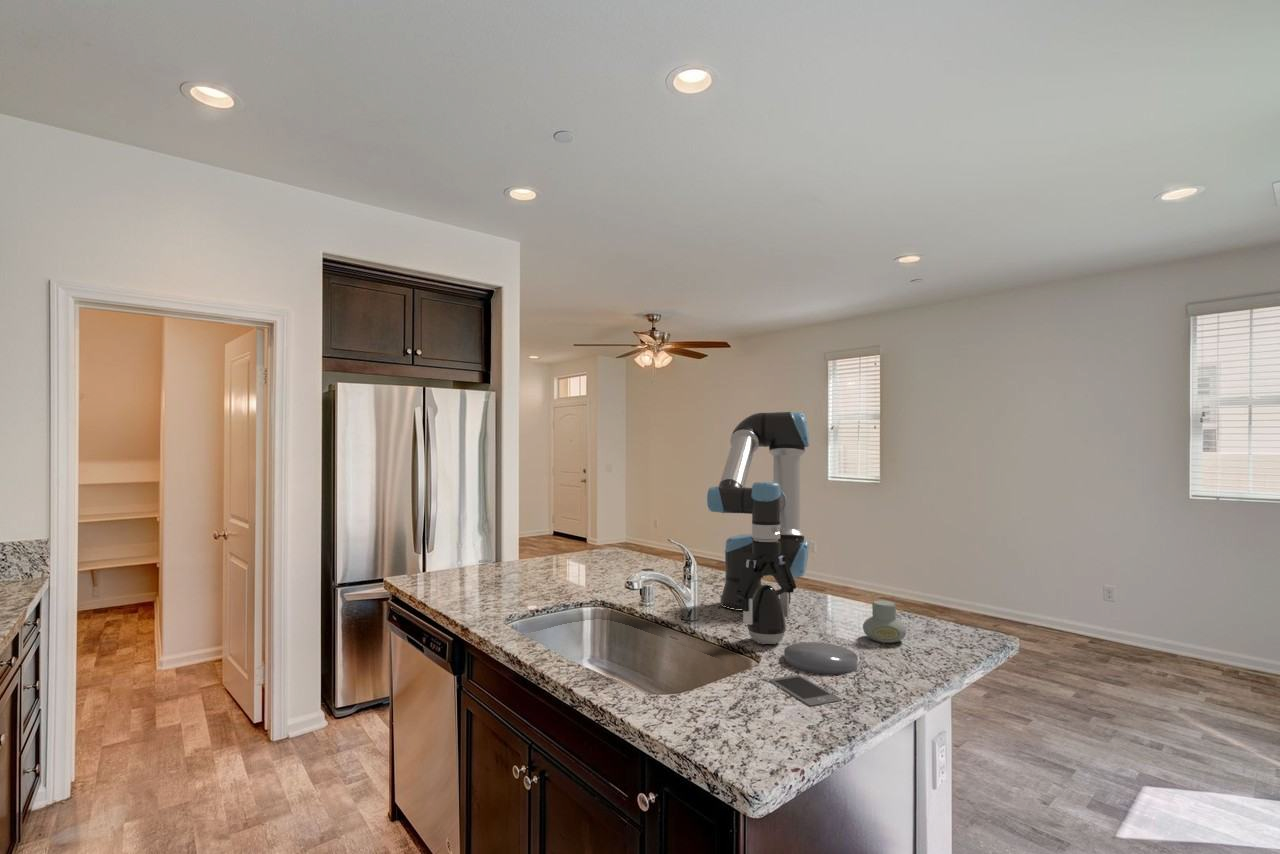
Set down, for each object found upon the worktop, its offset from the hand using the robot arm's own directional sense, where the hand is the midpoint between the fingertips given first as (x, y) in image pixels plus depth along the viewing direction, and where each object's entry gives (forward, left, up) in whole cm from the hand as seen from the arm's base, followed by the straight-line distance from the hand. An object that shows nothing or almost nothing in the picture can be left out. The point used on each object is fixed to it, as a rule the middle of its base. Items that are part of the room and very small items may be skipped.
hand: (766, 619), depth 163 cm
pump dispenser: (0, 0, -6) cm, 6 cm away
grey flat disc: (0, +18, -6) cm, 19 cm away
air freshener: (-28, +16, -6) cm, 33 cm away
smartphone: (+17, +28, -7) cm, 33 cm away
